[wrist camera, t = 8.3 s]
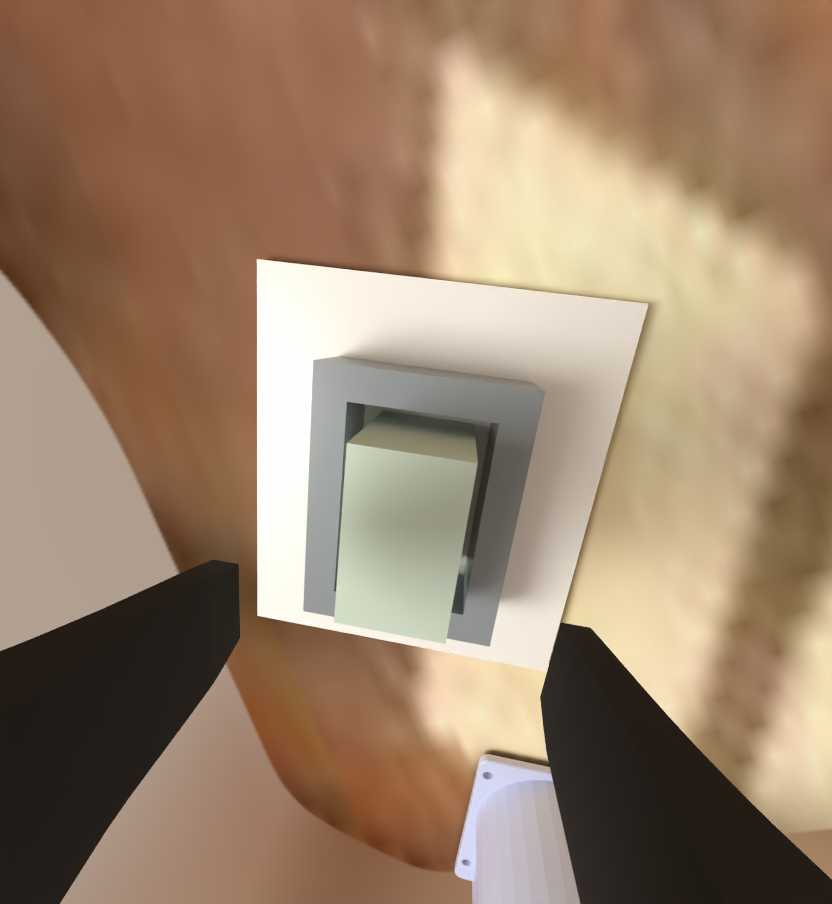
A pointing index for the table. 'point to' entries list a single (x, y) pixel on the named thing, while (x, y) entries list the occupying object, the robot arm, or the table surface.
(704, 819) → the robot arm
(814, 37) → the table surface
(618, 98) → the table surface
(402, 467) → the key block
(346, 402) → the slot holder
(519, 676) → the table surface
